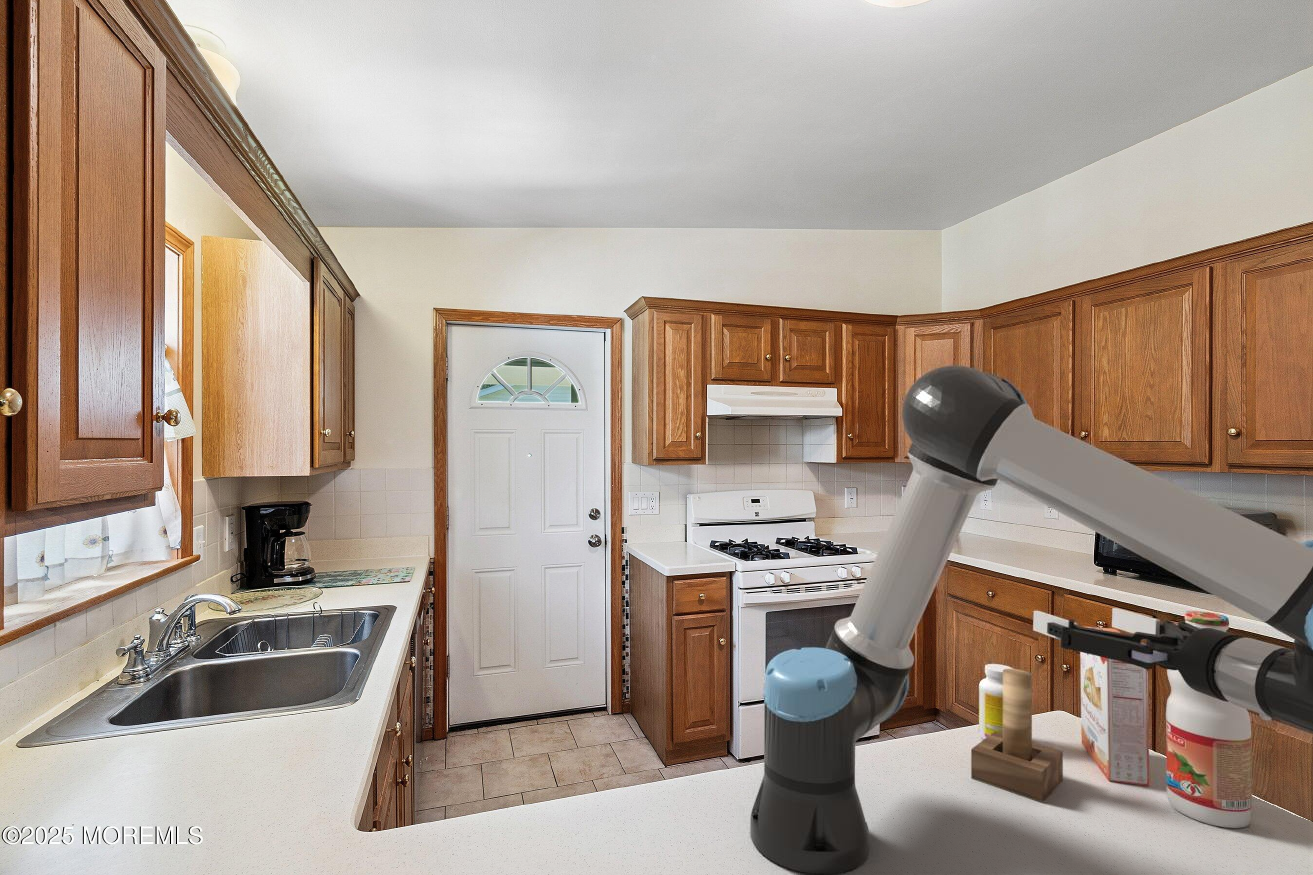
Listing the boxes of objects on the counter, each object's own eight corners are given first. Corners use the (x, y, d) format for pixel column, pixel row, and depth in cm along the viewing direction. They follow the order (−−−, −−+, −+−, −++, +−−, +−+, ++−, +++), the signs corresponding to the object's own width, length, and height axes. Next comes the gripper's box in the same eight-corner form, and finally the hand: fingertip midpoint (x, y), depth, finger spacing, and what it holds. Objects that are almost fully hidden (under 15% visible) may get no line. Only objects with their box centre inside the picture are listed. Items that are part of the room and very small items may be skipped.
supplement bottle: (1028, 749, 115) (1028, 674, 115) (989, 748, 115) (989, 673, 115) (1009, 733, 122) (1009, 662, 122) (972, 732, 122) (972, 661, 122)
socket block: (1042, 802, 97) (1042, 771, 97) (971, 778, 104) (971, 748, 104) (1062, 779, 104) (1062, 750, 104) (994, 758, 111) (994, 731, 111)
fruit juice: (1260, 837, 89) (1258, 626, 89) (1171, 817, 94) (1170, 616, 94) (1243, 806, 97) (1241, 612, 97) (1162, 788, 102) (1161, 604, 102)
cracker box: (1078, 744, 117) (1078, 624, 118) (1118, 749, 115) (1118, 627, 116) (1105, 781, 104) (1104, 646, 104) (1151, 788, 102) (1150, 650, 102)
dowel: (1027, 784, 101) (1026, 678, 102) (999, 775, 104) (998, 672, 105) (1035, 776, 104) (1035, 673, 104) (1007, 767, 107) (1007, 666, 107)
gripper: (1147, 711, 71) (1000, 648, 92) (1318, 697, 77) (1144, 641, 98) (1149, 640, 71) (1002, 594, 92) (1320, 632, 77) (1146, 590, 98)
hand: (1075, 618), depth 95 cm, fingers open, 13 cm apart
